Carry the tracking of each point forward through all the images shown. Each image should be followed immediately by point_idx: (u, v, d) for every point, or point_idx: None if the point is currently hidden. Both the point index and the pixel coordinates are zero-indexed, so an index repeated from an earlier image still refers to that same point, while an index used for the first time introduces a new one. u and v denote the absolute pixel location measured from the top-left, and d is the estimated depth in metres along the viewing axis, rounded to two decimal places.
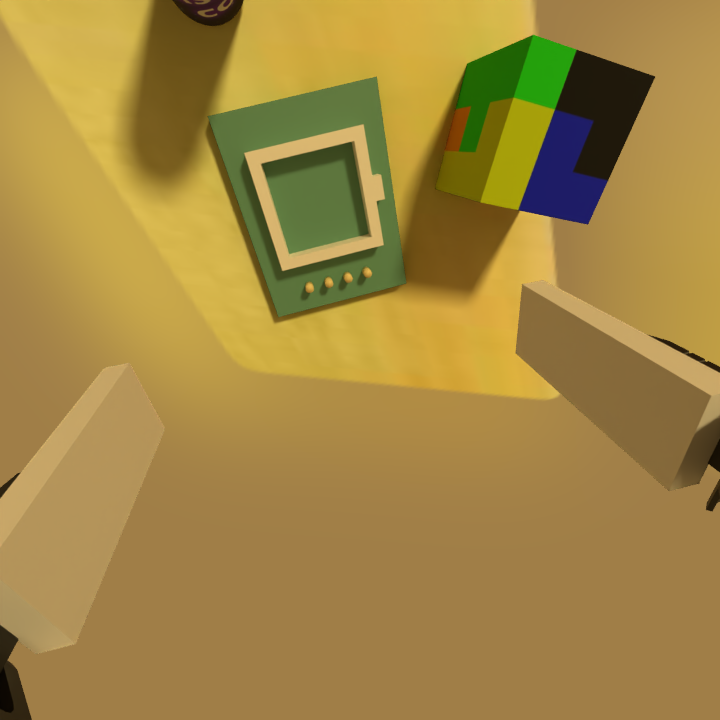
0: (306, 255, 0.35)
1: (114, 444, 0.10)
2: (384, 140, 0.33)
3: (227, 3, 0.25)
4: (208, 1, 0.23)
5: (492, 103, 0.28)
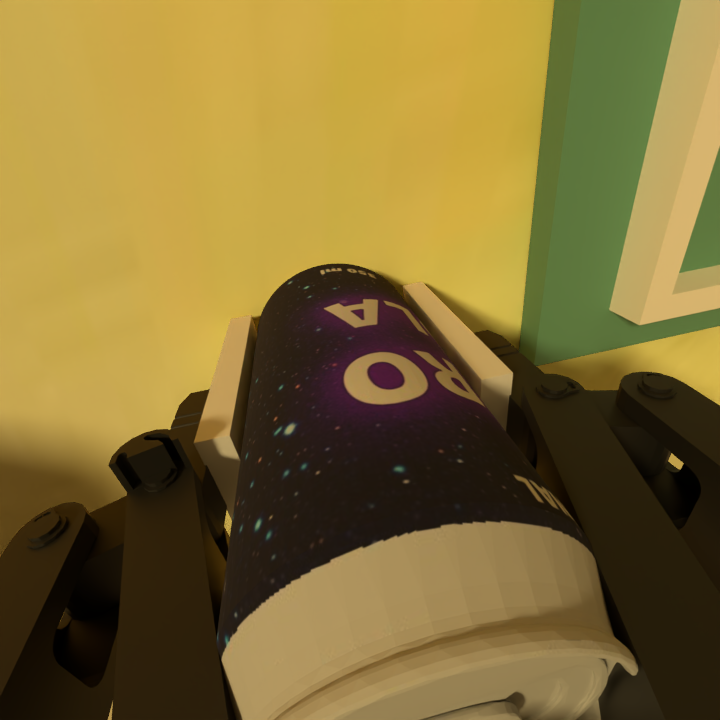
0: None
1: None
2: None
3: None
4: None
5: None
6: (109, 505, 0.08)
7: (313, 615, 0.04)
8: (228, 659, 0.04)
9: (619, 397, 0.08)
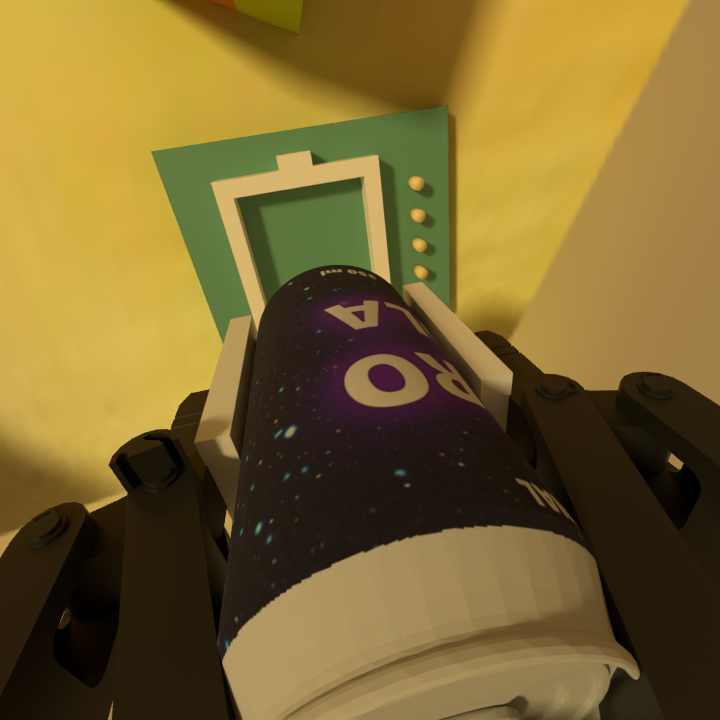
0: None
1: None
2: (230, 141, 0.22)
3: None
4: None
5: None
6: (109, 505, 0.08)
7: (315, 621, 0.04)
8: (228, 664, 0.04)
9: (619, 397, 0.08)
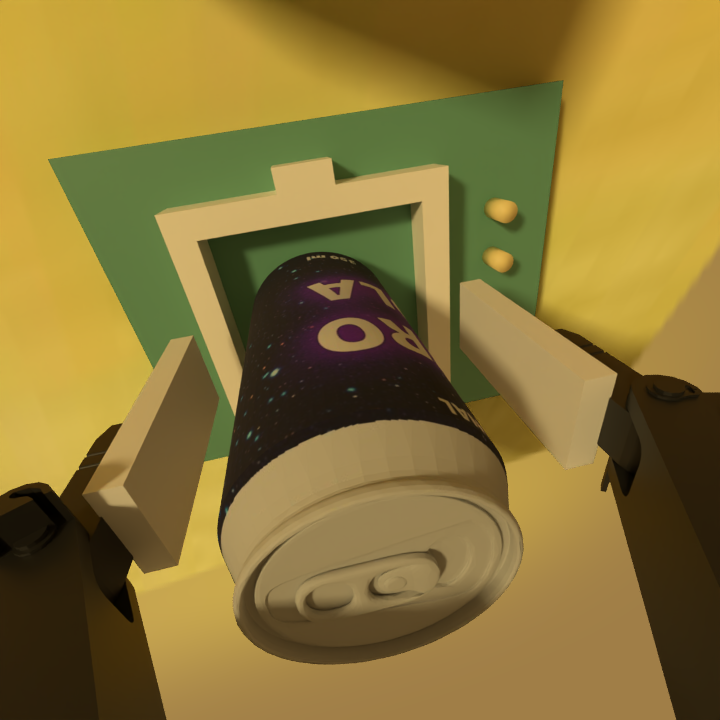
0: (431, 352, 0.17)
1: (189, 404, 0.11)
2: (191, 141, 0.13)
3: None
4: None
5: None
6: None
7: (286, 479, 0.06)
8: (227, 523, 0.06)
9: None
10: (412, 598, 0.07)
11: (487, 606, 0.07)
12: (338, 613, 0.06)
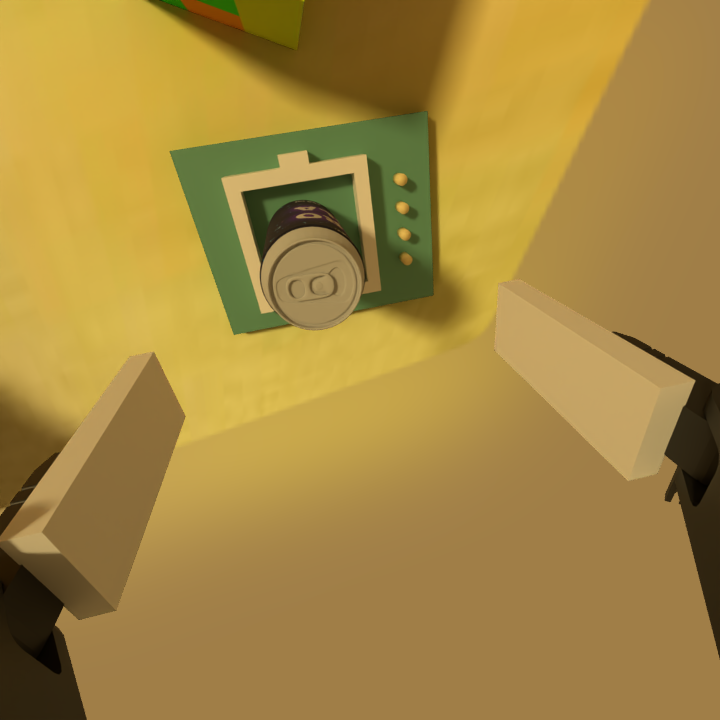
0: (367, 261, 0.30)
1: (143, 428, 0.10)
2: (238, 142, 0.25)
3: None
4: None
5: None
6: None
7: (282, 241, 0.18)
8: (264, 263, 0.19)
9: None
10: (325, 295, 0.19)
11: (354, 305, 0.20)
12: (300, 297, 0.19)
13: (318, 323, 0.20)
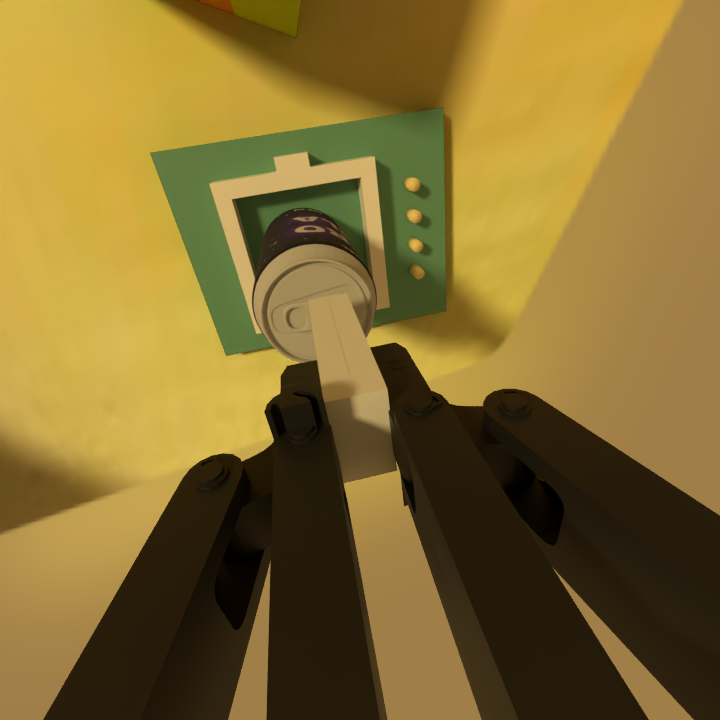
0: (374, 275, 0.26)
1: None
2: (228, 142, 0.22)
3: None
4: None
5: None
6: (249, 459, 0.08)
7: (279, 262, 0.15)
8: (256, 288, 0.16)
9: (484, 419, 0.08)
10: None
11: None
12: (300, 328, 0.16)
13: None
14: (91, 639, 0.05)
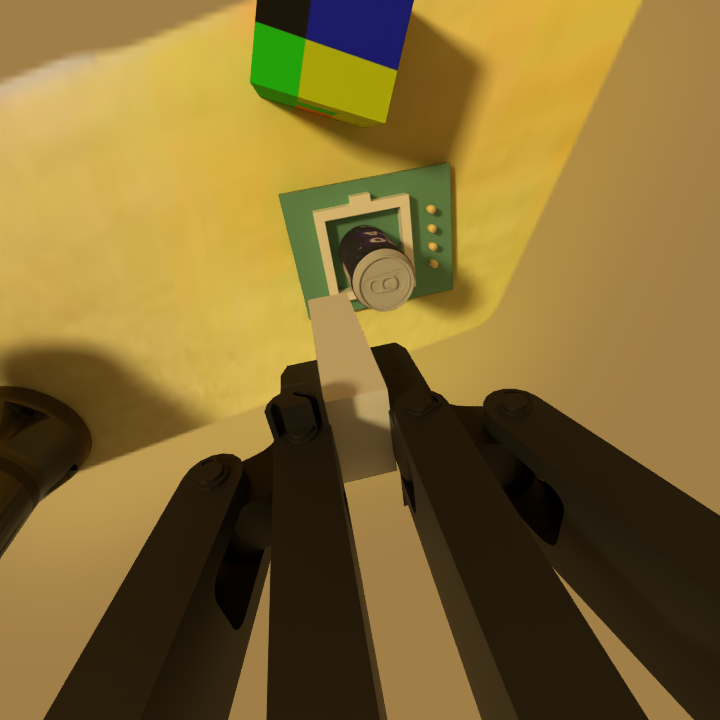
0: None
1: None
2: (323, 188, 0.38)
3: None
4: None
5: (298, 100, 0.29)
6: (249, 459, 0.08)
7: (368, 258, 0.31)
8: (355, 271, 0.32)
9: (484, 419, 0.08)
10: (392, 289, 0.32)
11: (409, 296, 0.32)
12: (376, 291, 0.32)
13: (386, 307, 0.33)
14: (92, 641, 0.05)
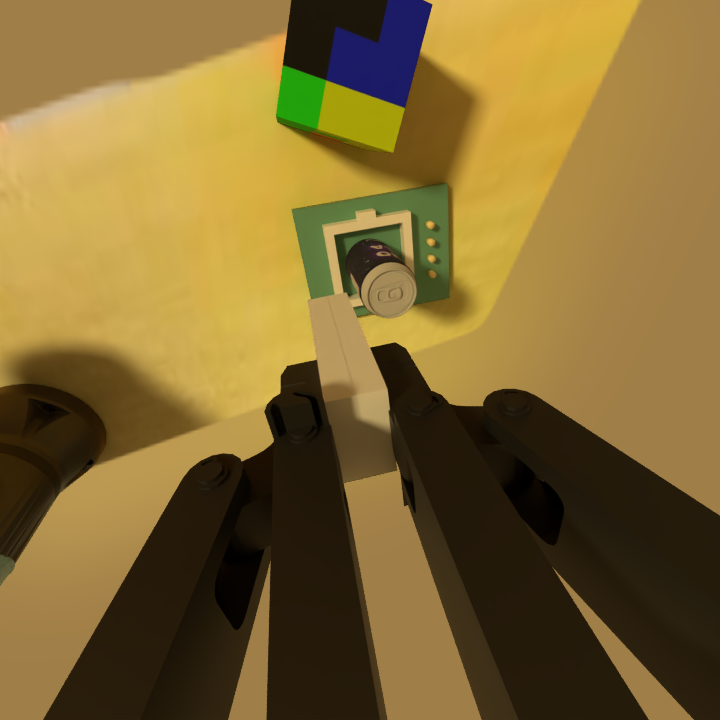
0: None
1: None
2: (332, 204, 0.42)
3: None
4: None
5: (316, 130, 0.33)
6: (249, 459, 0.08)
7: (375, 270, 0.35)
8: (364, 282, 0.35)
9: (484, 419, 0.08)
10: (396, 298, 0.36)
11: (411, 304, 0.36)
12: (383, 300, 0.35)
13: (391, 314, 0.36)
14: (91, 639, 0.05)
